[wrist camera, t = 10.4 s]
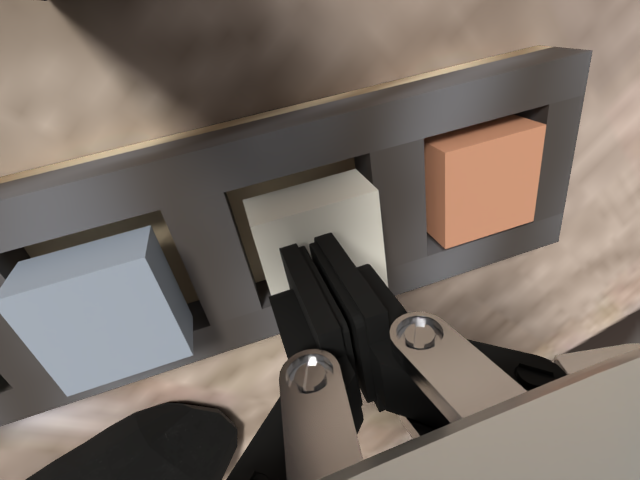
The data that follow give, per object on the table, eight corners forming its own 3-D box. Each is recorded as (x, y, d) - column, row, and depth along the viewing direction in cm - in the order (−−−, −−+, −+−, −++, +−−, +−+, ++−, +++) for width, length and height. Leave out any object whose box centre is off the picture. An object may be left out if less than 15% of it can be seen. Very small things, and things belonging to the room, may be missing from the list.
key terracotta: (508, 113, 16) (546, 124, 14) (501, 201, 18) (533, 220, 16) (417, 137, 15) (445, 152, 14) (420, 226, 17) (445, 249, 16)
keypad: (537, 45, 16) (592, 50, 14) (518, 216, 20) (558, 241, 18) (-314, 253, 12) (-428, 308, 10) (-113, 416, 16) (-161, 479, 14)
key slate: (150, 225, 13) (144, 257, 11) (192, 316, 15) (193, 355, 13) (18, 261, 12) (-10, 301, 10) (81, 351, 14) (67, 396, 13)
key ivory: (355, 168, 14) (378, 190, 12) (367, 261, 16) (388, 291, 14) (242, 200, 13) (250, 227, 12) (270, 292, 15) (280, 326, 14)
